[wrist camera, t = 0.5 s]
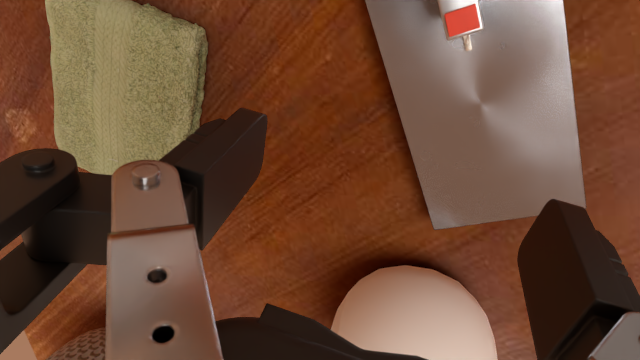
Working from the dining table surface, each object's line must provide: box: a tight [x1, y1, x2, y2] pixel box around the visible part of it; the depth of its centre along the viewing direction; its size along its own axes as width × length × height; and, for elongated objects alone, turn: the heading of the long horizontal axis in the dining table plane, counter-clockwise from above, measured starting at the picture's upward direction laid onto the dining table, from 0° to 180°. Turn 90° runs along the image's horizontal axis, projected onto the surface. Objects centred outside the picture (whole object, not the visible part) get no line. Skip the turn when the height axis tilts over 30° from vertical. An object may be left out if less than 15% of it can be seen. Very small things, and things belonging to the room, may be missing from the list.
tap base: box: [365, 0, 586, 230], centre depth 25 cm, size 24×11×2 cm, turn 21°
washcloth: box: [45, 0, 208, 175], centre depth 33 cm, size 13×18×3 cm
